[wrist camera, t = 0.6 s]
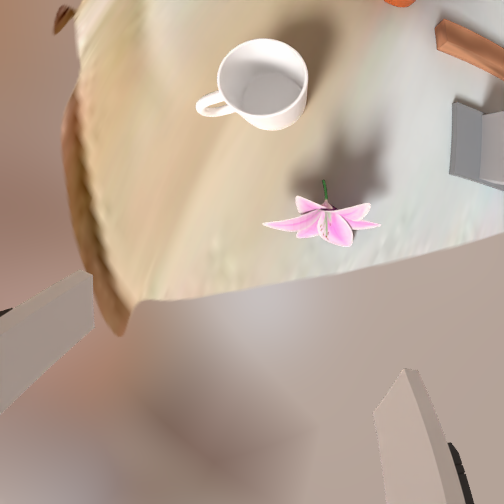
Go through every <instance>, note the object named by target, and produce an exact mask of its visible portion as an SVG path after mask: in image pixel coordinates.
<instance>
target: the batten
mask: <svg viewBox="0 0 504 504" xmlns="http://www.w3.org/2000/svg"><path fill="white" fill-rule="evenodd" d="M435 35H436V44H437V50H439V51H442V52H444V53H447V54H449V55H452V56H454V57H456V58H459V59H461V60H463V61H466V62H468V63H470V64H472V65H474V66H476V67H479V68H481V69H483V70H485V71H487V72H488V73H490V74H492V75H494V76H496V77H498V78H500V79H502V80H503V81H504V48H502V47H501V46H499V45H497V44H495V43H494V42H492V41H490V40H488V39H486V38H484V37H483V36H481V35H479V34H477V33H475V32H473V31H471V30H469V29H467V28H465V27H462V26H460V25H458V24H456V23H454V22H451V21H449V20H446V19H443V20H442V21H441V22H440V23H439V24H438V25H437V26H436V27H435Z"/></svg>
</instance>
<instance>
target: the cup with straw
mask: <svg viewBox="0 0 504 504" xmlns="http://www.w3.org/2000/svg"><path fill="white" fill-rule="evenodd" d="M384 1H386V2H387V3H389V4H391V5H394V6H397V7H408V6H410V5H411V4H413V3H414V2H415V1H416V0H384Z"/></svg>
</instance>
